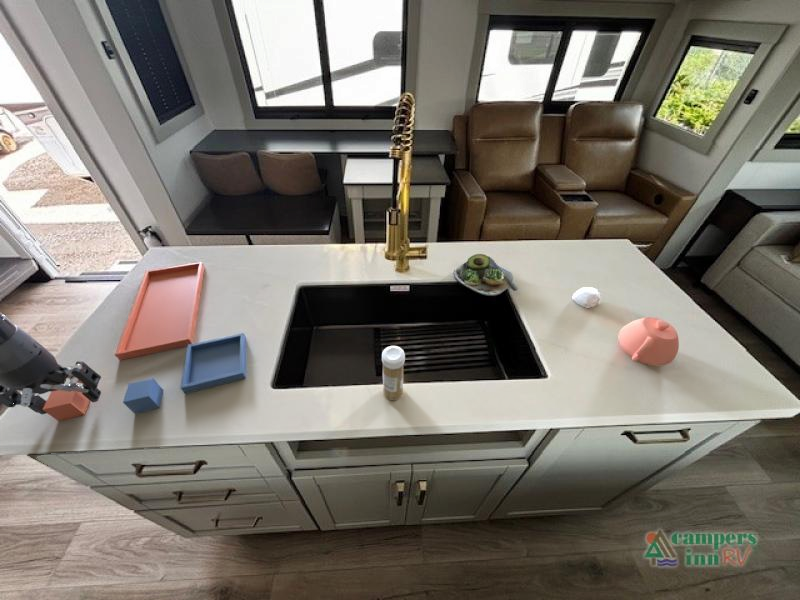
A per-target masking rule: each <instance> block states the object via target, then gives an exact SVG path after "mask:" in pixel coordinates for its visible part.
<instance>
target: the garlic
mask: <svg viewBox="0 0 800 600" xmlns="http://www.w3.org/2000/svg"><path fill="white" fill-rule="evenodd" d="M601 297H602V294H601V293H600V290H599V289H597V288H595V287H589V286H587V287H581V288H579V289H578V290H576V291H575V292H574V293H573V295H572V297H571V298H572V300H573V301H574V302H575V303H576V304H577V305H579V306H581V307H583V308H586V309H588V308H590V307H592V308H594V307H595V306H599V305H600V304H601V302H600V301H601ZM599 302H600V303H599ZM590 309H591V308H590Z"/></svg>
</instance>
